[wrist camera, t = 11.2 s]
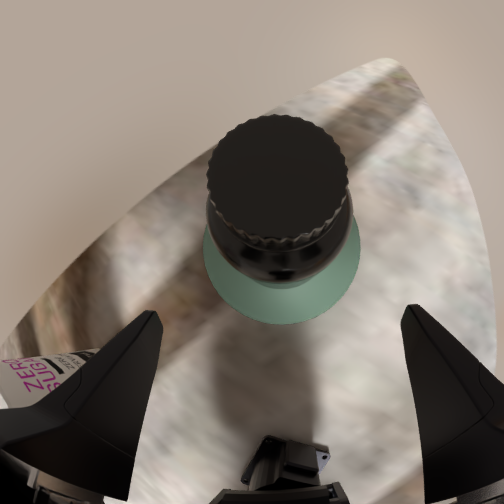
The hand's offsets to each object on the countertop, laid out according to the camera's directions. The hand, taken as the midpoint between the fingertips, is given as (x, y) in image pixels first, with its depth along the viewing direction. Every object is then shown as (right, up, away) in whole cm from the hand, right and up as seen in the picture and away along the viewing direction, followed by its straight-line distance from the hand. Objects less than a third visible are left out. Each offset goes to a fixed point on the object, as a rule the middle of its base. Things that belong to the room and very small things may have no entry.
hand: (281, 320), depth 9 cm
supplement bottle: (+1, +3, +11) cm, 12 cm away
